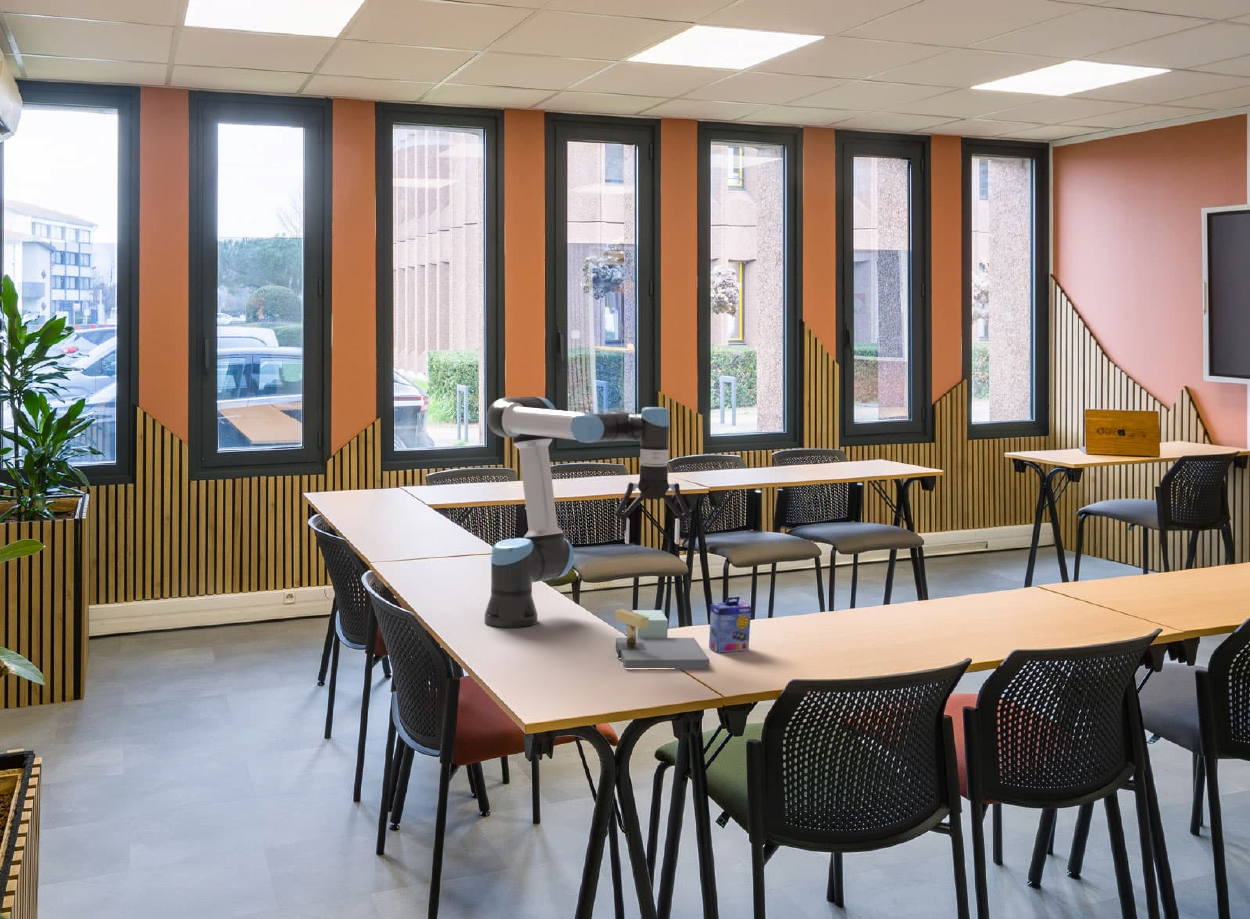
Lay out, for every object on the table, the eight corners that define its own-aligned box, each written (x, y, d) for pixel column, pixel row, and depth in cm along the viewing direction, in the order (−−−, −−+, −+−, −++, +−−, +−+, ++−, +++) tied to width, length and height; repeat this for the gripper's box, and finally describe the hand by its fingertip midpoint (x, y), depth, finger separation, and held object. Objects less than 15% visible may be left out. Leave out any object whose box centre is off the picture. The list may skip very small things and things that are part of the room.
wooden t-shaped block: (639, 650, 295) (640, 618, 294) (614, 640, 304) (615, 610, 303) (647, 648, 296) (648, 617, 295) (622, 639, 305) (623, 608, 304)
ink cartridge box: (717, 653, 305) (719, 599, 303) (707, 648, 310) (709, 594, 308) (750, 650, 309) (752, 596, 307) (740, 645, 314) (742, 592, 312)
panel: (613, 647, 309) (613, 637, 308) (693, 646, 311) (693, 637, 311) (623, 670, 287) (623, 659, 287) (709, 669, 289) (709, 659, 289)
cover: (631, 635, 322) (632, 610, 322) (660, 635, 323) (661, 610, 322) (637, 646, 310) (638, 620, 310) (667, 646, 311) (667, 620, 311)
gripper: (609, 465, 307) (607, 545, 309) (702, 466, 310) (700, 545, 312) (606, 462, 314) (604, 540, 316) (697, 464, 317) (695, 541, 319)
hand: (651, 543), depth 314 cm, fingers open, 13 cm apart
